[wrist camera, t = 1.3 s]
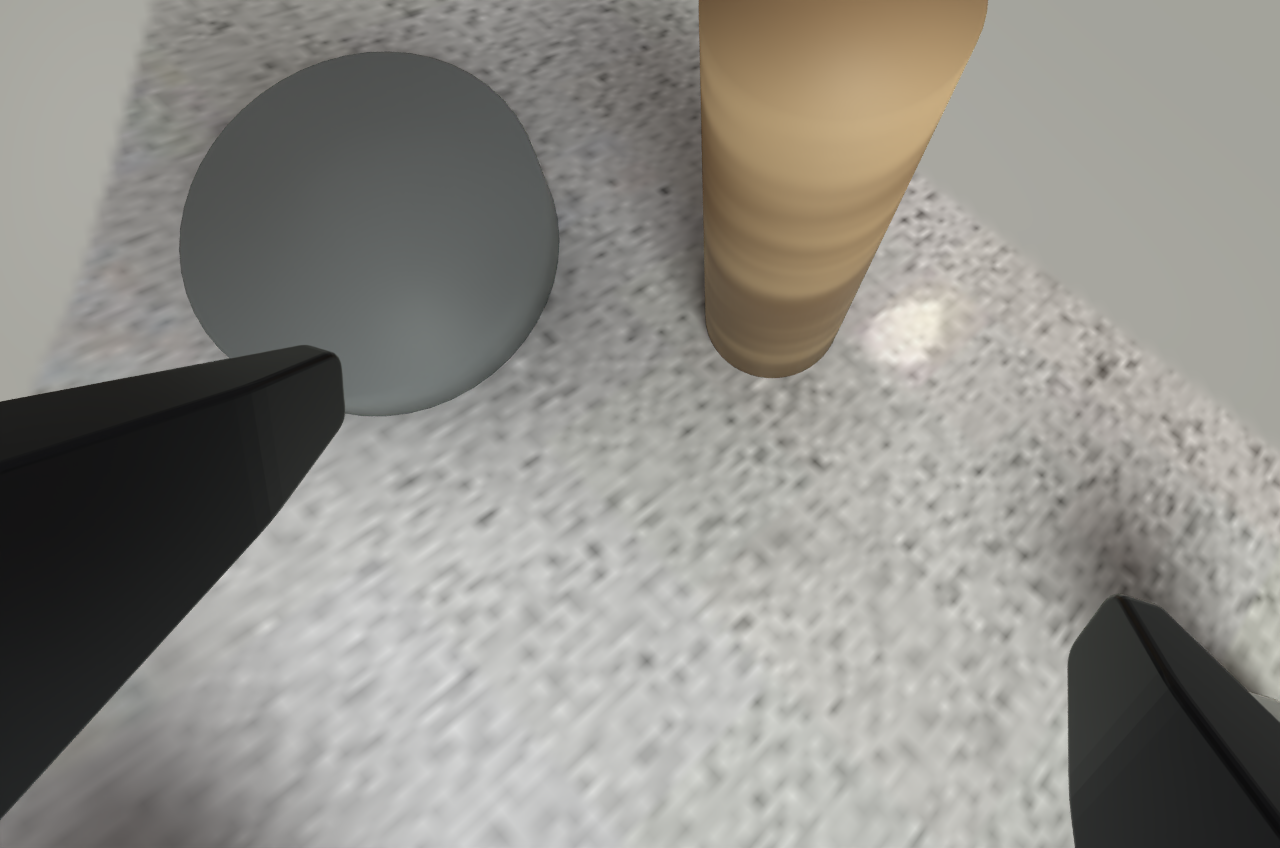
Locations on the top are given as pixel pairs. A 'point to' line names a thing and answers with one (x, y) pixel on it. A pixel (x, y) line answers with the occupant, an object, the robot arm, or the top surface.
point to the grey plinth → (374, 228)
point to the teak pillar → (812, 156)
